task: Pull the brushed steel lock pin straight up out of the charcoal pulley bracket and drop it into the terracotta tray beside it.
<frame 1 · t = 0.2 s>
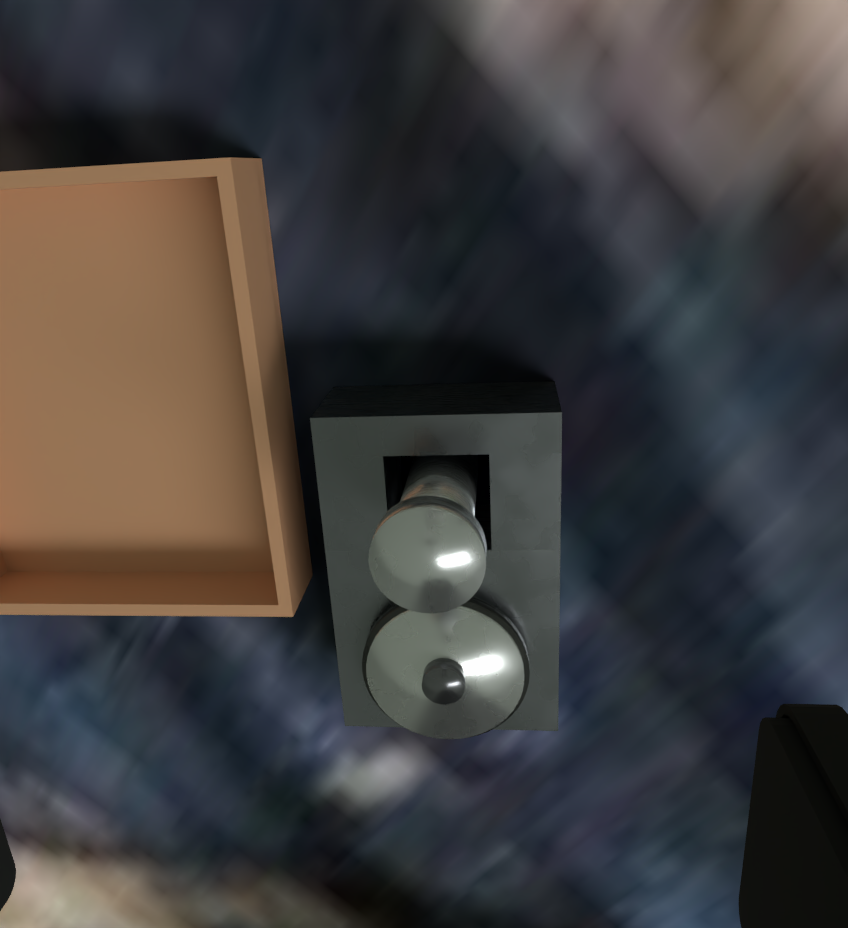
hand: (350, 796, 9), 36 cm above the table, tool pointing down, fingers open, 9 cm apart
pulley bracket: (449, 536, 48), on the table
tray: (119, 392, 46), on the table
lock pin: (446, 463, 46), resting in pulley bracket
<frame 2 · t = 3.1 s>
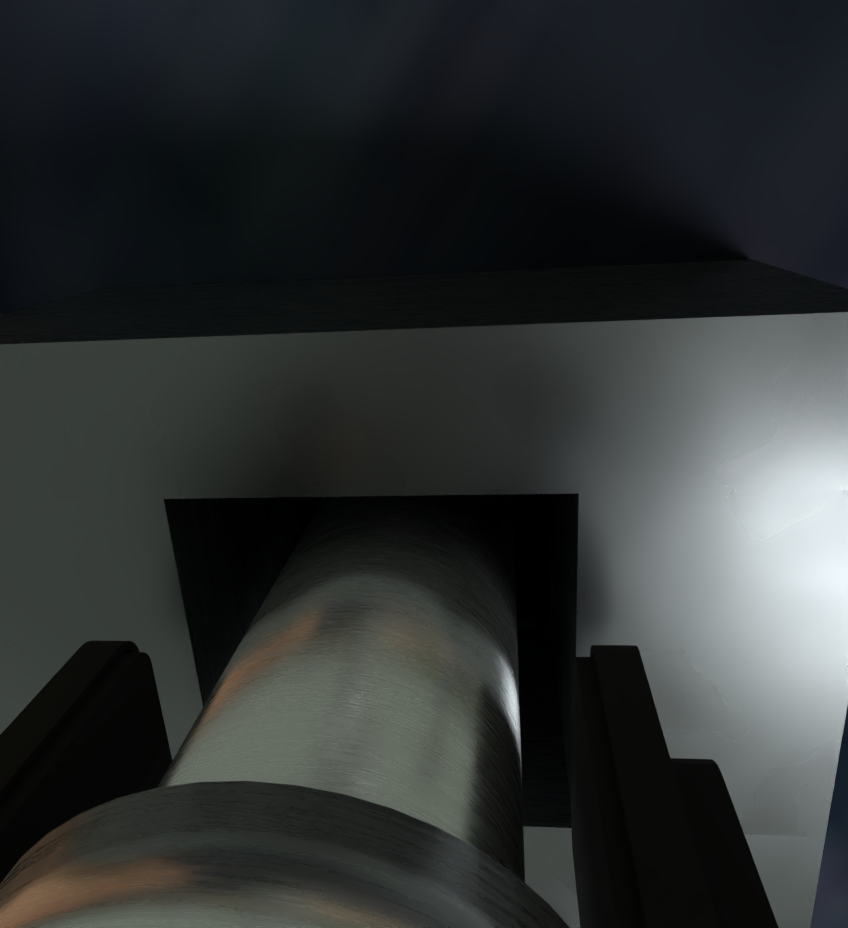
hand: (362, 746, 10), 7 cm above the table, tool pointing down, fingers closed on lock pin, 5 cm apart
pulley bracket: (433, 696, 18), on the table
lock pin: (421, 508, 17), resting in pulley bracket, touching gripper
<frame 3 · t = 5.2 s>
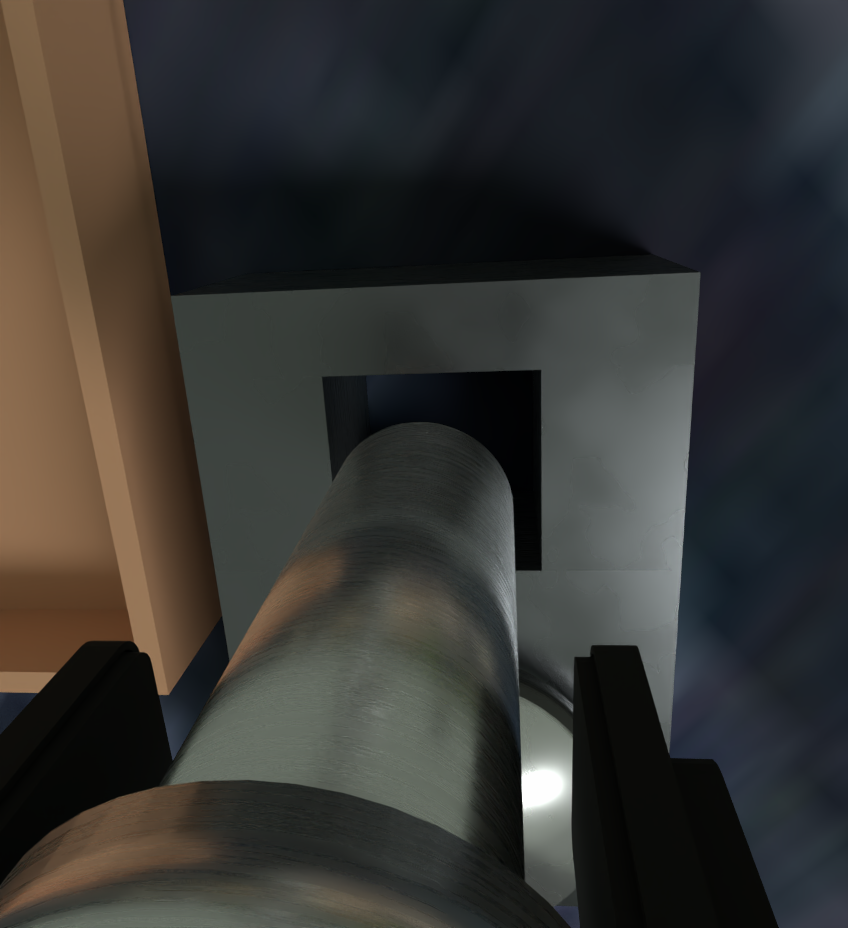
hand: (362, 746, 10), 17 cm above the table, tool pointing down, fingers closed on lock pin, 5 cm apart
pulley bracket: (455, 548, 27), on the table
lock pin: (422, 508, 17), point 9 cm above the table, touching gripper
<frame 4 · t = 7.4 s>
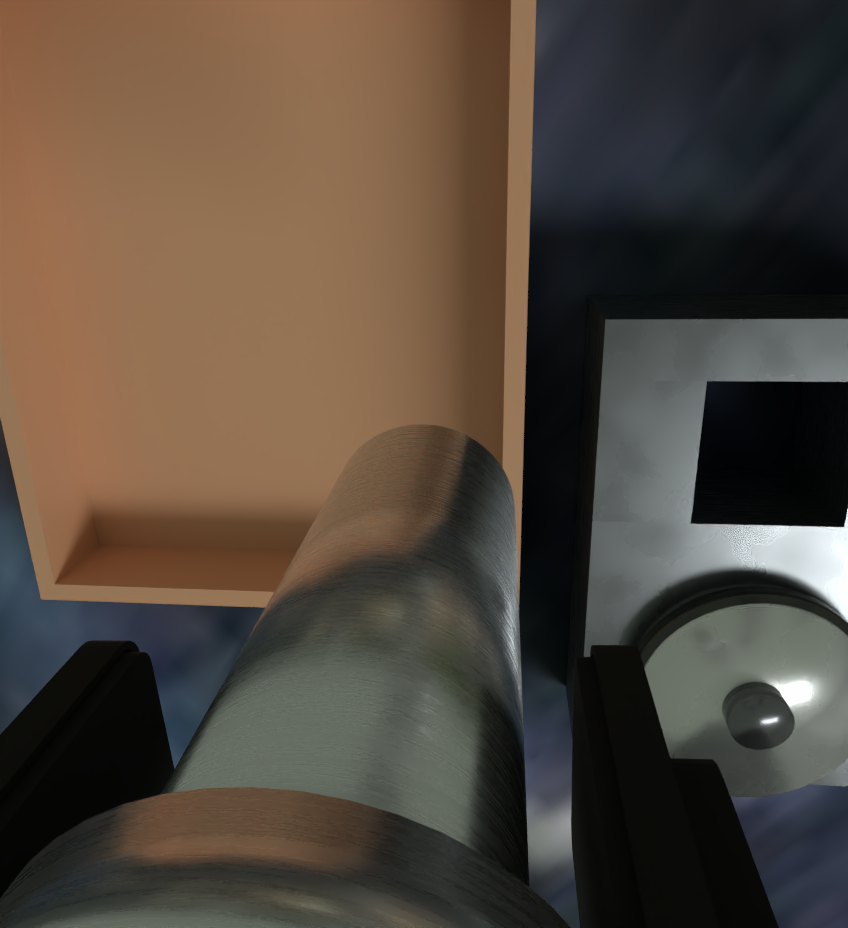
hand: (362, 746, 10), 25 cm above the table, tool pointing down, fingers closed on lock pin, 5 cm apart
pulley bracket: (717, 513, 35), on the table
tray: (278, 297, 33), on the table
lock pin: (423, 510, 17), point 18 cm above the table, touching gripper
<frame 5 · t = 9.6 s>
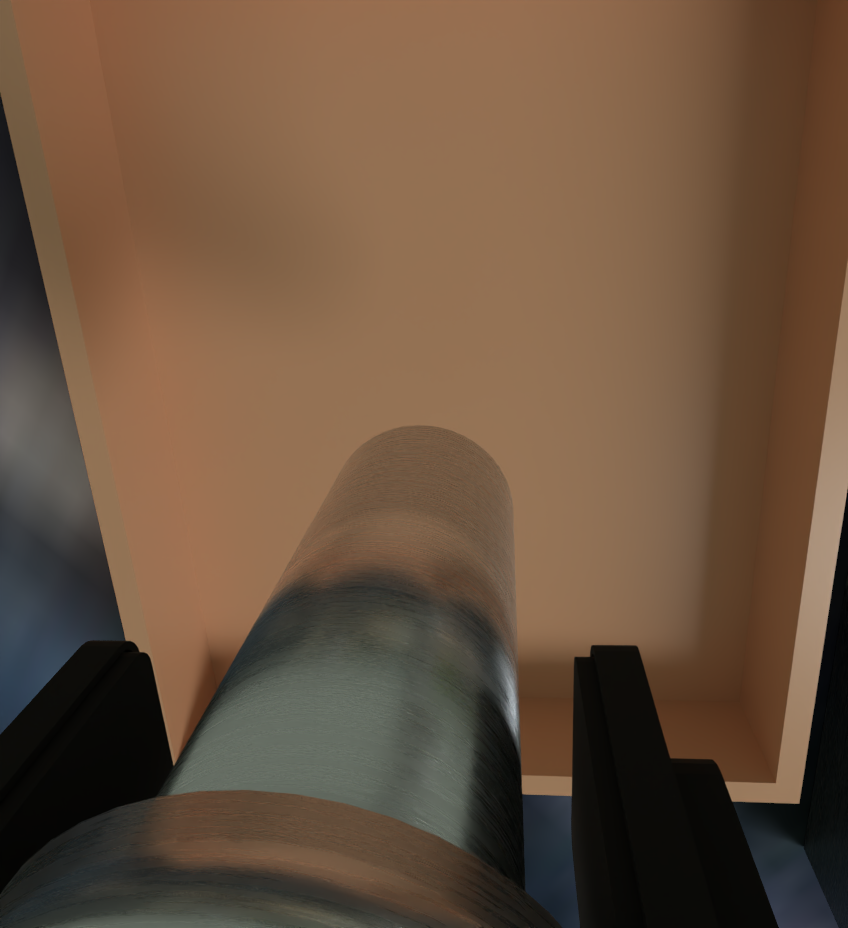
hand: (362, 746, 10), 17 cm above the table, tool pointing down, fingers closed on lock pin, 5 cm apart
tray: (456, 385, 26), on the table
lock pin: (422, 511, 17), point 10 cm above the table, touching gripper
when the fingers open (10 cm above the table, at t = 11.7 s): lock pin drops 2 cm, resting on tray.
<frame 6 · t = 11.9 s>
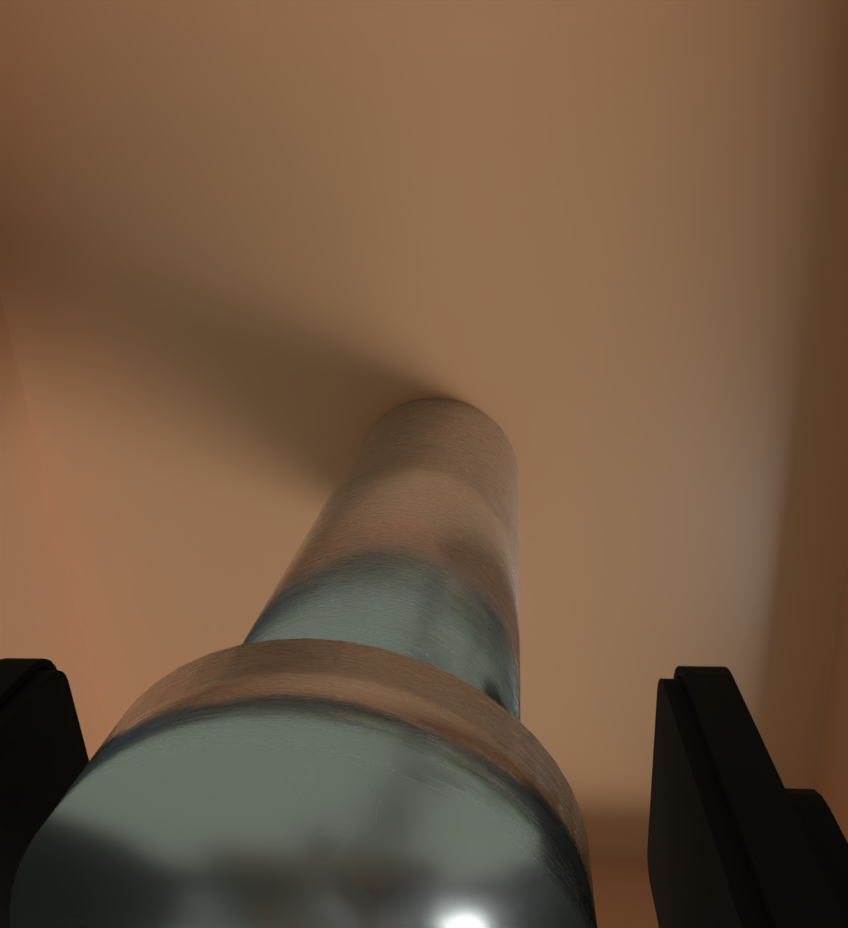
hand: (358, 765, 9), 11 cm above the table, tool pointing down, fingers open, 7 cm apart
tray: (433, 462, 19), on the table
lock pin: (436, 477, 18), point 1 cm above the table, touching tray
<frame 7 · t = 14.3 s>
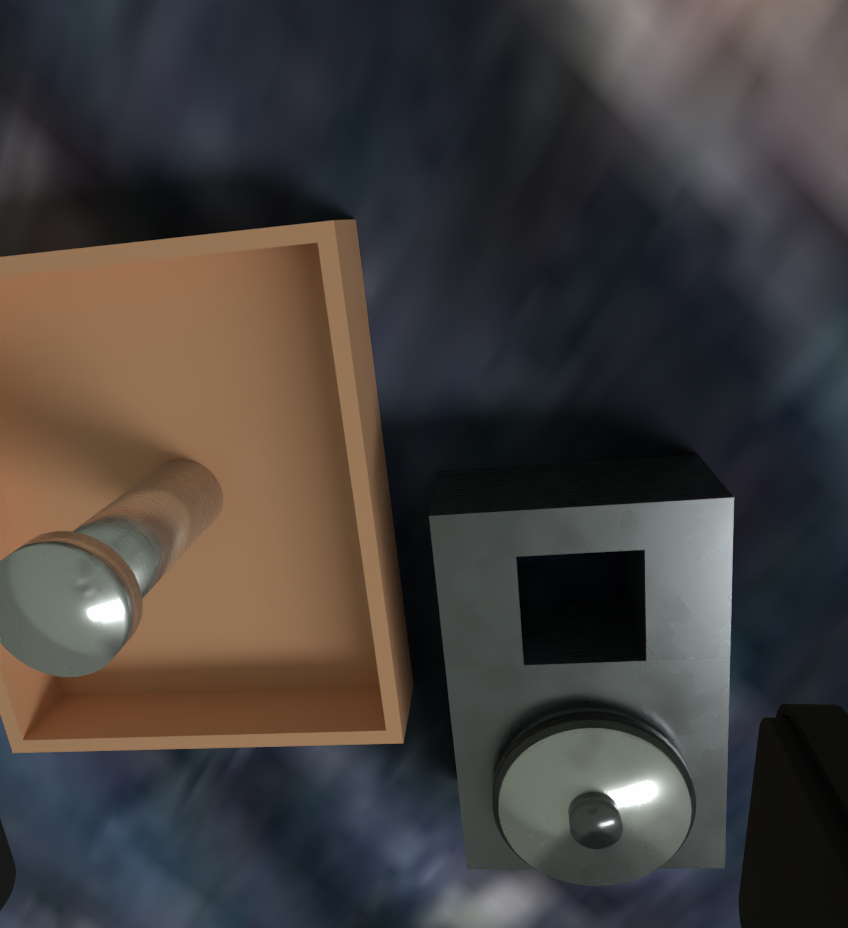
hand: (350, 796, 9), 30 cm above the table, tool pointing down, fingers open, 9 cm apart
pulley bracket: (574, 636, 41), on the table
tray: (190, 488, 41), on the table
lock pin: (186, 494, 40), point 1 cm above the table, touching tray
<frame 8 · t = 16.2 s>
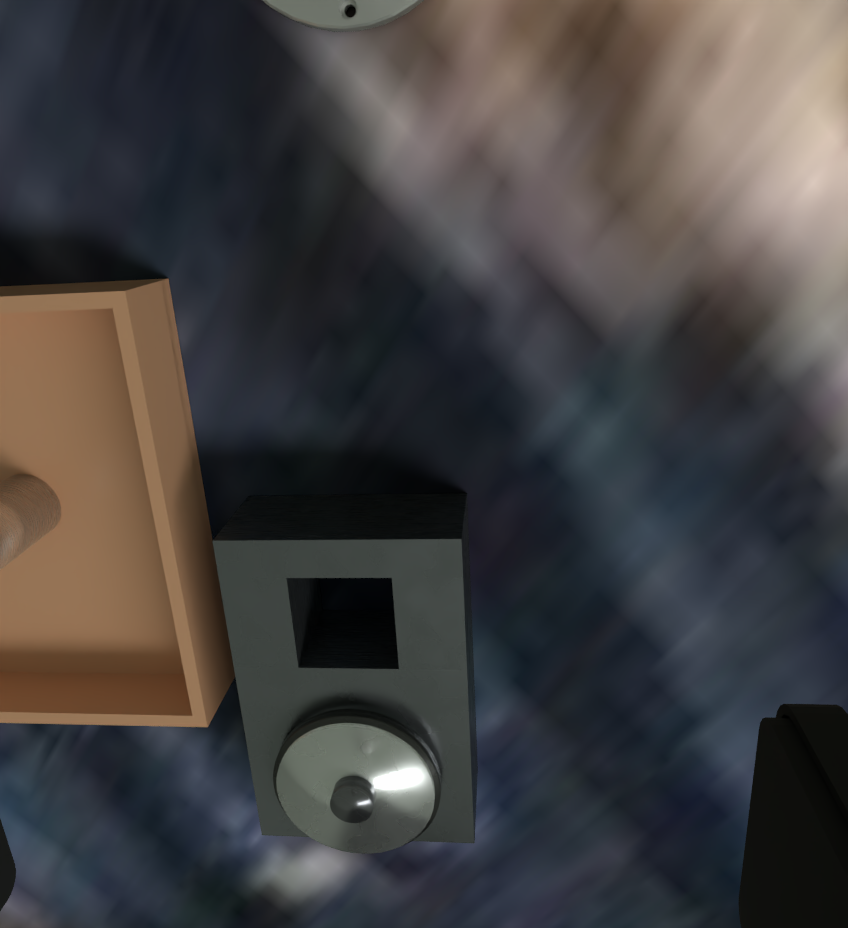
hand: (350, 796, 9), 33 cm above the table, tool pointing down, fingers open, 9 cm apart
pulley bracket: (369, 640, 48), on the table
tray: (36, 498, 46), on the table
lock pin: (29, 504, 45), point 1 cm above the table, touching tray
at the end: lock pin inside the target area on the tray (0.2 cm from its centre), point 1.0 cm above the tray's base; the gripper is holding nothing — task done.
